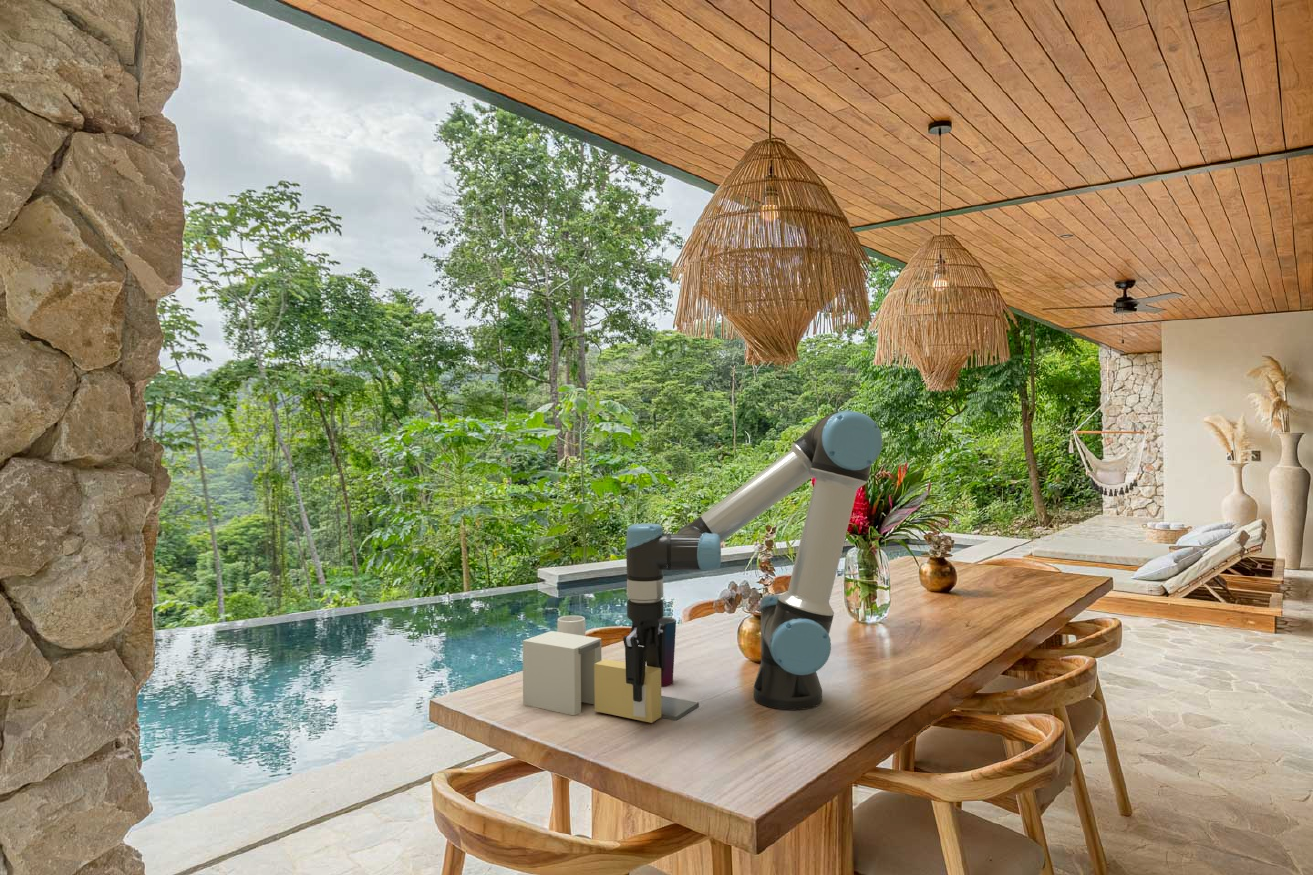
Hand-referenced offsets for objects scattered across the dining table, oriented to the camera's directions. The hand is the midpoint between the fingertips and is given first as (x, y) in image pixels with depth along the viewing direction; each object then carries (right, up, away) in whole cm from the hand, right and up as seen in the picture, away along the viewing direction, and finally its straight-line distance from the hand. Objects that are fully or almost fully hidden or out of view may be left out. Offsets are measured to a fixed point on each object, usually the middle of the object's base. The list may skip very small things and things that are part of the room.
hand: (646, 712), depth 161 cm
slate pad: (+2, -2, +8) cm, 9 cm away
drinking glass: (-18, -2, +27) cm, 33 cm away
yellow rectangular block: (-4, -1, +2) cm, 5 cm away
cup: (+4, -2, +25) cm, 25 cm away
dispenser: (-19, -2, +11) cm, 22 cm away
